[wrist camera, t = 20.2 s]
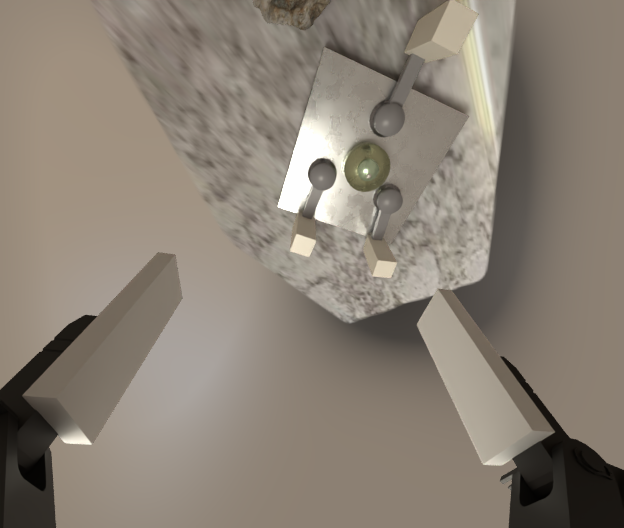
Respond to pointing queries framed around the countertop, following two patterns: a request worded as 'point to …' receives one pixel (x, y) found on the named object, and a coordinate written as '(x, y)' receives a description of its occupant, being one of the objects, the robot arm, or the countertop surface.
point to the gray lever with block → (425, 57)
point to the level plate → (351, 128)
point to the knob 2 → (382, 234)
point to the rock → (291, 11)
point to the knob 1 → (311, 209)
